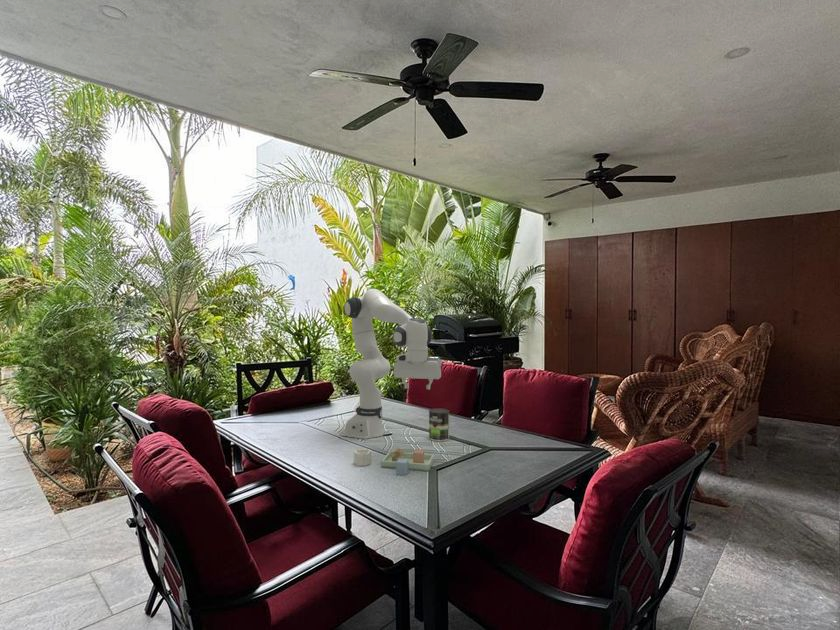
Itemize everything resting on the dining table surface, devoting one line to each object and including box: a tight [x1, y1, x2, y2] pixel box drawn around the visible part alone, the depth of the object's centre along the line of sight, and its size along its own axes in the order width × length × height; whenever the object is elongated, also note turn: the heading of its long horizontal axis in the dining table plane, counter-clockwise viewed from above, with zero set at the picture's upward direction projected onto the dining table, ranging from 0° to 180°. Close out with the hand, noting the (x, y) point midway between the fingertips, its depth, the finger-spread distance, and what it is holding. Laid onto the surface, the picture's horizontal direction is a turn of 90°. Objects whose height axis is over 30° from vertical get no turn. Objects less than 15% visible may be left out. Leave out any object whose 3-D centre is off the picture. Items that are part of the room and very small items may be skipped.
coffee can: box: [428, 407, 450, 442], centre depth 219 cm, size 10×10×14 cm
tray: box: [380, 451, 435, 472], centre depth 183 cm, size 20×12×3 cm, turn 78°
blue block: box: [395, 459, 409, 476], centre depth 174 cm, size 4×4×5 cm
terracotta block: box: [412, 449, 425, 464], centre depth 182 cm, size 4×4×5 cm
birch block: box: [391, 447, 405, 462], centre depth 184 cm, size 4×4×5 cm
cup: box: [353, 448, 372, 467], centre depth 184 cm, size 7×7×5 cm
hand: (417, 388), depth 186 cm, fingers open, 8 cm apart
